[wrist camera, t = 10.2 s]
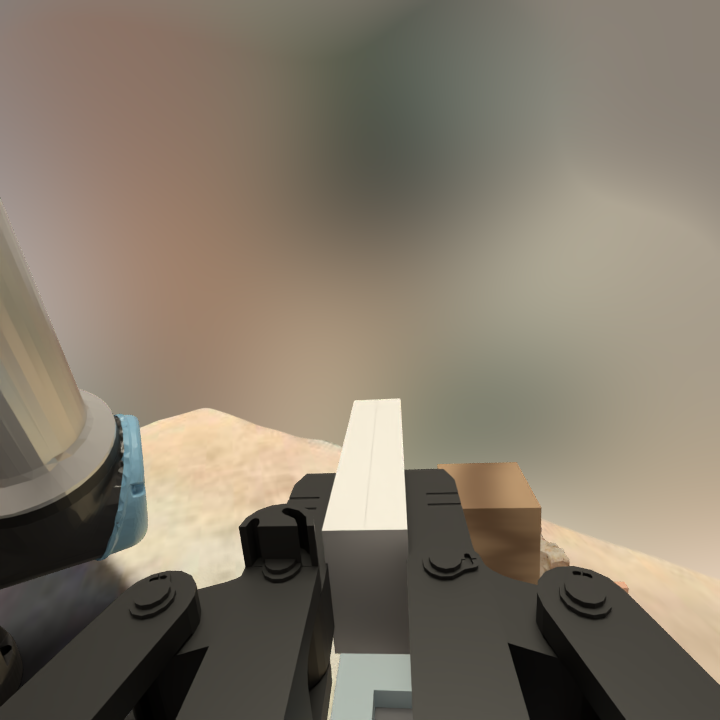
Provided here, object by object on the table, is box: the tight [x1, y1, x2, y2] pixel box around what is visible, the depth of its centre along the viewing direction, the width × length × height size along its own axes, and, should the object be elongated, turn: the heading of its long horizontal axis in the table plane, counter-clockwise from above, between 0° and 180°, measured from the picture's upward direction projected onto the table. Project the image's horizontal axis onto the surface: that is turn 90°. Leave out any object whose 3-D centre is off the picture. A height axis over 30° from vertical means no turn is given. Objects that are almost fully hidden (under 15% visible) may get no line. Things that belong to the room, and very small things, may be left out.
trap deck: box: [330, 582, 628, 720], centre depth 29 cm, size 24×18×6 cm
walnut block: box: [437, 462, 541, 585], centre depth 32 cm, size 6×6×16 cm
